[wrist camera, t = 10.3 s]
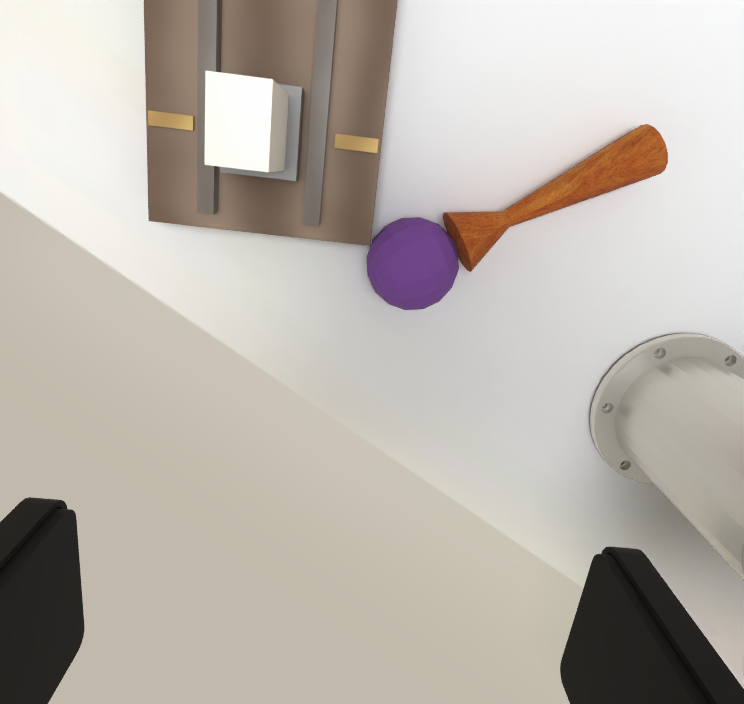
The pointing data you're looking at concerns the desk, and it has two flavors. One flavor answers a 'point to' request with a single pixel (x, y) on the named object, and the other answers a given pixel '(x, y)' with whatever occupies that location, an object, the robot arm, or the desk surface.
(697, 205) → the desk surface
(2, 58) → the desk surface
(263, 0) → the brown slider board
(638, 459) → the robot arm
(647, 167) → the kendama
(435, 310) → the desk surface
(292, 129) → the fader tab
